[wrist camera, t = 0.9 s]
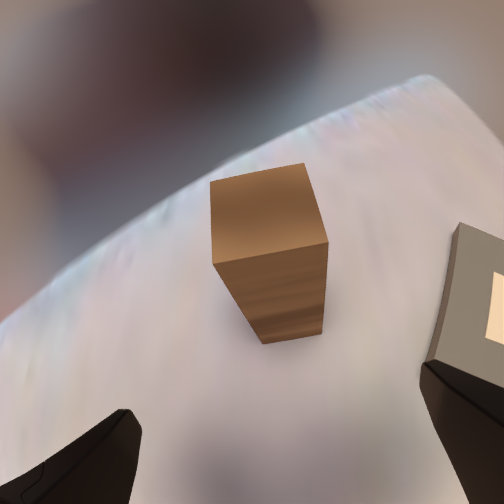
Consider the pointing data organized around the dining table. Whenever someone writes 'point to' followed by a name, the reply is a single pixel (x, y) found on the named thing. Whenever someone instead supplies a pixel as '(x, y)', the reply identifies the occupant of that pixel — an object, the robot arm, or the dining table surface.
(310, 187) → the walnut pillar
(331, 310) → the dining table surface
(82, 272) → the dining table surface
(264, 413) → the dining table surface
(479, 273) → the foundation slab
